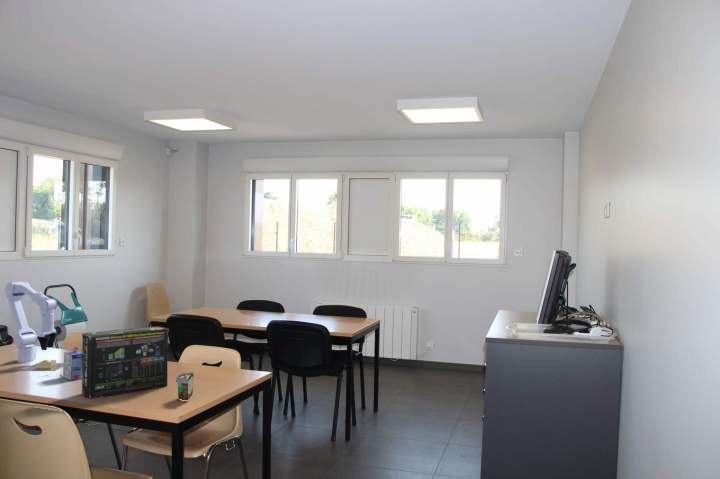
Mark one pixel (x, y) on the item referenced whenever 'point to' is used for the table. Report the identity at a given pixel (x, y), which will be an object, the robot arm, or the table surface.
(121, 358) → the router box
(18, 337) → the robot arm
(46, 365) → the wooden collar
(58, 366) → the board
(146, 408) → the table surface
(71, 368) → the ink cartridge box
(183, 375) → the food container
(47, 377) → the table surface
